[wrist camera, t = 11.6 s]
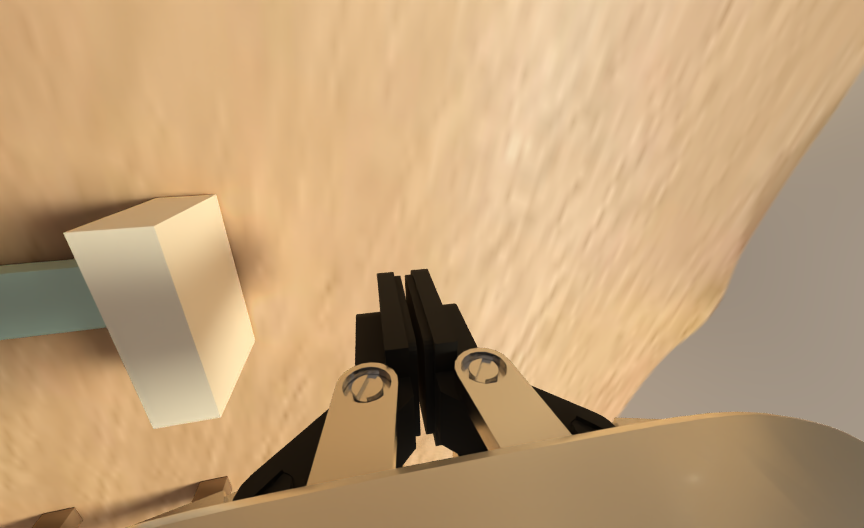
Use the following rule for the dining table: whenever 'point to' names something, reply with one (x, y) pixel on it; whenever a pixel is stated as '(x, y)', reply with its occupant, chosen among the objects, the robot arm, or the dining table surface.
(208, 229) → the mint t-bar
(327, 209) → the dining table surface
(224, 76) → the dining table surface
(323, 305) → the dining table surface
